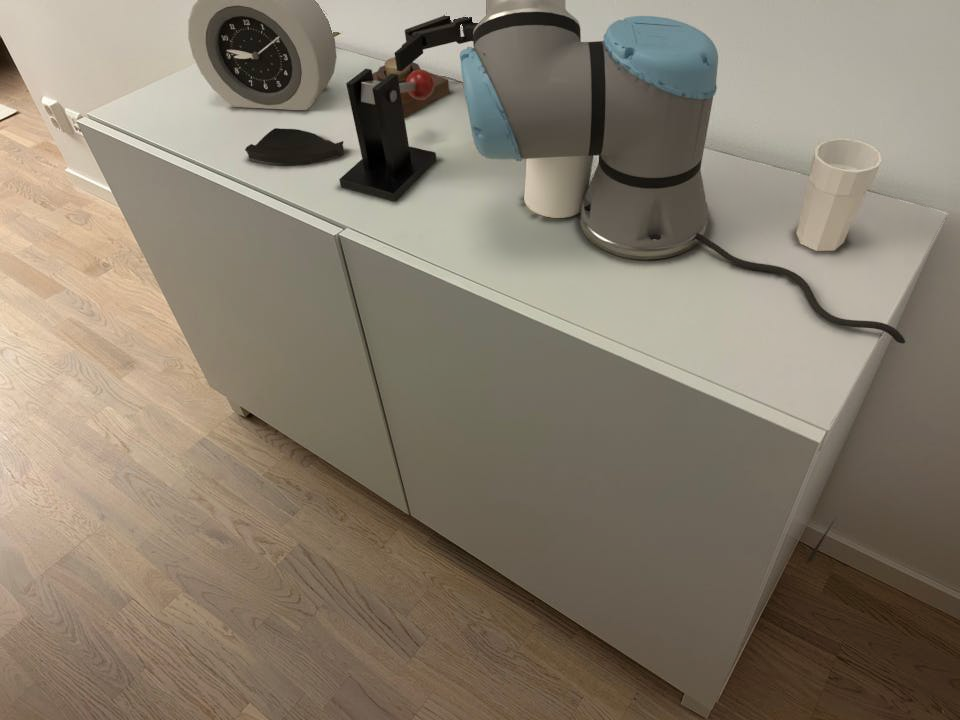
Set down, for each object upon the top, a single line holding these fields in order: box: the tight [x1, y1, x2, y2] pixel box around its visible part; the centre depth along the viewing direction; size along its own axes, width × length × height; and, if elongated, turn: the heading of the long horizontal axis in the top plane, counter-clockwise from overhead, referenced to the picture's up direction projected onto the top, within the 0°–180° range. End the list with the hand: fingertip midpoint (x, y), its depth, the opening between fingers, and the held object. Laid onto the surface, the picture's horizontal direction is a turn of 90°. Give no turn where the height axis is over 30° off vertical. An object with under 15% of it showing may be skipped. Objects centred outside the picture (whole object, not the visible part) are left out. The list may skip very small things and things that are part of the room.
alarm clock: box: [187, 0, 337, 111], centre depth 111 cm, size 21×8×20 cm, turn 77°
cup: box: [795, 137, 883, 252], centre depth 80 cm, size 7×7×11 cm
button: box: [384, 56, 411, 77], centre depth 113 cm, size 4×4×2 cm
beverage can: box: [523, 156, 594, 219], centre depth 89 cm, size 8×8×12 cm
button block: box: [372, 61, 451, 118], centre depth 115 cm, size 12×10×4 cm
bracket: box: [338, 68, 437, 202], centre depth 96 cm, size 11×9×14 cm
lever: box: [361, 68, 434, 104], centre depth 97 cm, size 14×4×4 cm, turn 152°
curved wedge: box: [244, 127, 345, 166], centre depth 106 cm, size 8×14×2 cm, turn 68°
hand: (437, 68), depth 104 cm, fingers open, 13 cm apart
